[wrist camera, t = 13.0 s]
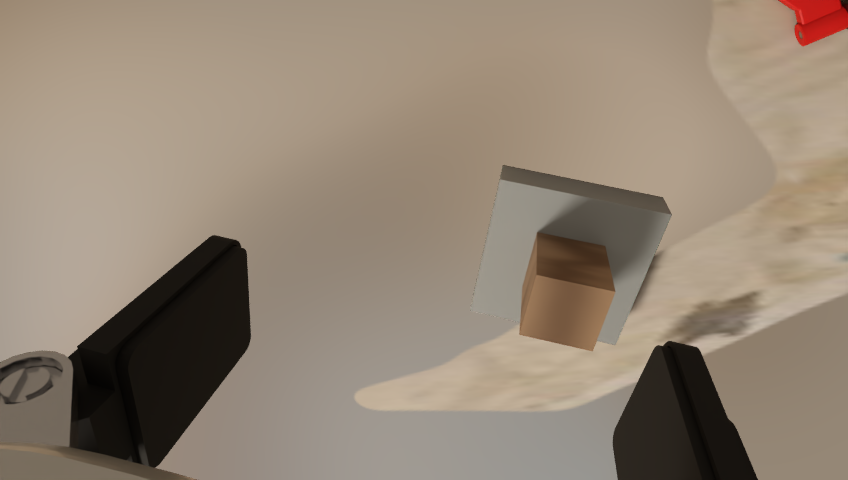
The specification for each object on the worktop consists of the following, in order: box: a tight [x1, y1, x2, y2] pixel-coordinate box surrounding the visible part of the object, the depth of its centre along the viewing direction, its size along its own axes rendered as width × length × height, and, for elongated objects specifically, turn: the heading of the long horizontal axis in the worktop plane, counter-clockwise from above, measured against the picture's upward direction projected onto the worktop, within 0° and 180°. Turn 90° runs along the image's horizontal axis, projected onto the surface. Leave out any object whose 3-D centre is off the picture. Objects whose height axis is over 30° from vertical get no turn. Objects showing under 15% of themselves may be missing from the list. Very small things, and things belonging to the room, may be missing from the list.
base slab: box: [470, 165, 672, 345], centre depth 40 cm, size 12×12×3 cm
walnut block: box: [519, 232, 616, 351], centre depth 36 cm, size 5×5×6 cm
